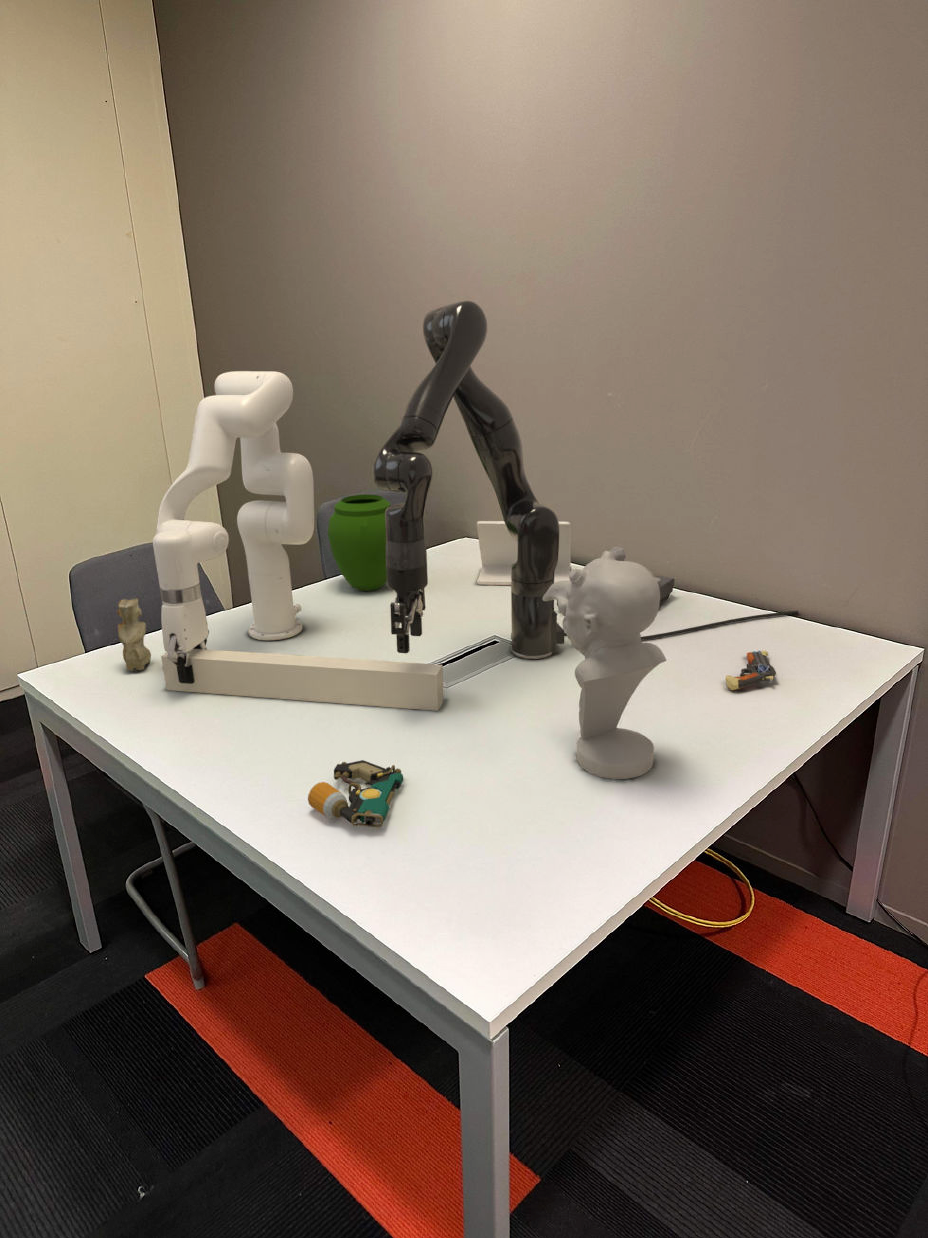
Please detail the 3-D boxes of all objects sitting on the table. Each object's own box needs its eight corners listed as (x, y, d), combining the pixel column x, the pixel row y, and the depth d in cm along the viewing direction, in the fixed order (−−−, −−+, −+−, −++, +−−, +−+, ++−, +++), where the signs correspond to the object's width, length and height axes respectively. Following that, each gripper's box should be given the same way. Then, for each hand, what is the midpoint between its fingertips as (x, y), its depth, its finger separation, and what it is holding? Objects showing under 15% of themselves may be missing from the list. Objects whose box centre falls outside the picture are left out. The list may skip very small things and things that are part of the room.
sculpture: (156, 659, 189) (146, 595, 184) (147, 672, 183) (135, 606, 177) (130, 660, 189) (118, 596, 184) (119, 673, 182) (107, 608, 177)
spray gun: (349, 769, 144) (428, 790, 138) (290, 816, 130) (376, 841, 124) (349, 746, 143) (429, 767, 137) (289, 791, 128) (375, 816, 122)
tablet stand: (569, 585, 229) (570, 524, 223) (476, 584, 232) (475, 523, 226) (570, 566, 246) (571, 508, 240) (484, 564, 249) (483, 507, 243)
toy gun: (727, 680, 165) (782, 677, 163) (718, 649, 183) (767, 646, 181) (728, 693, 166) (782, 690, 164) (719, 661, 184) (767, 658, 182)
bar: (444, 700, 167) (442, 664, 164) (438, 711, 162) (436, 674, 160) (178, 680, 179) (173, 647, 176) (166, 690, 174) (160, 656, 172)
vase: (418, 582, 236) (413, 495, 227) (374, 603, 220) (368, 510, 212) (362, 572, 246) (356, 488, 237) (317, 591, 230) (309, 503, 222)
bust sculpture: (592, 709, 161) (598, 528, 148) (680, 765, 141) (694, 562, 128) (520, 730, 154) (519, 542, 141) (601, 792, 134) (608, 580, 121)
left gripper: (186, 579, 177) (198, 659, 183) (139, 606, 161) (154, 693, 168) (219, 580, 175) (230, 662, 182) (175, 608, 160) (189, 696, 166)
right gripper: (398, 550, 163) (402, 629, 169) (374, 572, 150) (379, 657, 156) (436, 551, 161) (438, 631, 167) (415, 574, 148) (418, 660, 154)
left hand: (193, 676), depth 175 cm, fingers closed on bar, 4 cm apart
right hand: (410, 643), depth 161 cm, fingers open, 8 cm apart
